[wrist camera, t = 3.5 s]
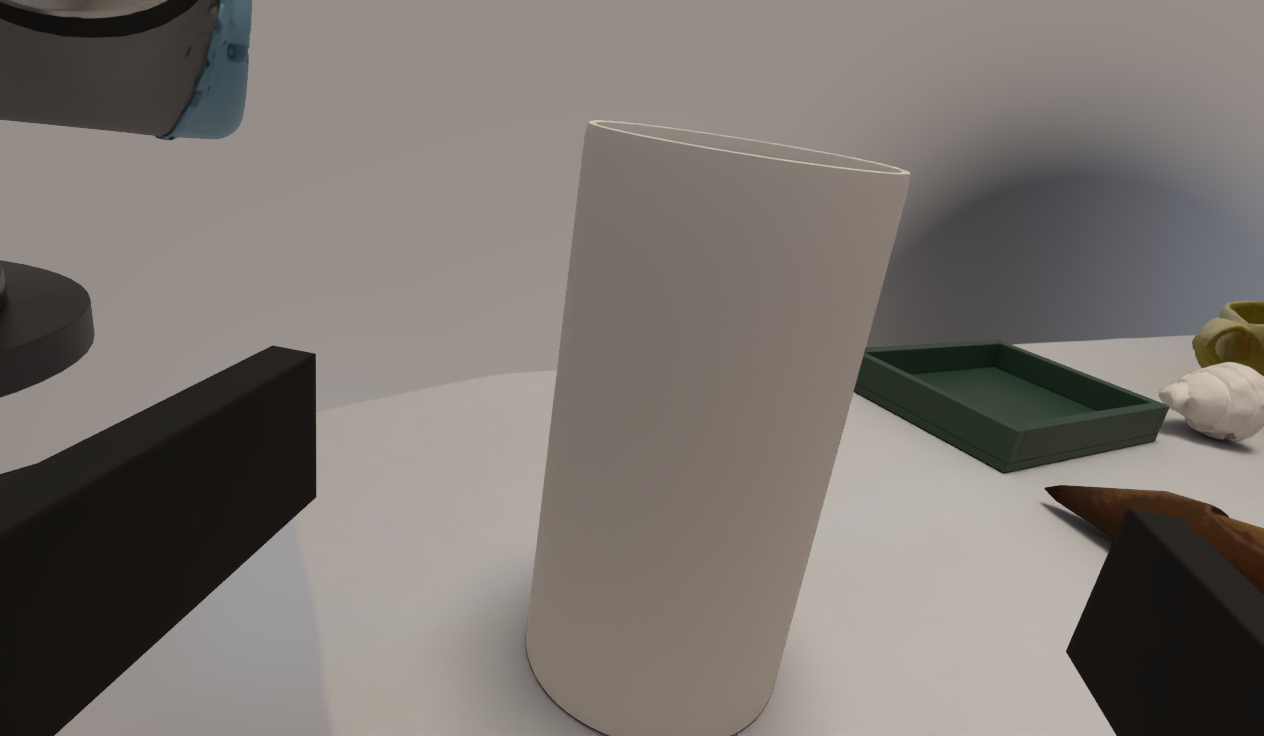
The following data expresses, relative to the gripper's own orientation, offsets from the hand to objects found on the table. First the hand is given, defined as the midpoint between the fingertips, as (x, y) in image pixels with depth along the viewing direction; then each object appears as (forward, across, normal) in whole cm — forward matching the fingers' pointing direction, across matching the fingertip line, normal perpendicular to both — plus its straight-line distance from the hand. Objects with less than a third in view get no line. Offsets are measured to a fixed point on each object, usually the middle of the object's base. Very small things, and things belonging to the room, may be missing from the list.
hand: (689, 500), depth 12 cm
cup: (+9, 0, -11) cm, 14 cm away
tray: (+39, +21, -11) cm, 46 cm away
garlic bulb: (+42, +35, -11) cm, 56 cm away
